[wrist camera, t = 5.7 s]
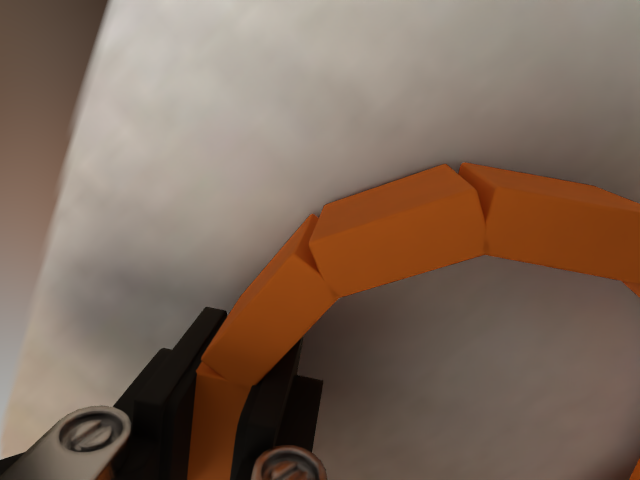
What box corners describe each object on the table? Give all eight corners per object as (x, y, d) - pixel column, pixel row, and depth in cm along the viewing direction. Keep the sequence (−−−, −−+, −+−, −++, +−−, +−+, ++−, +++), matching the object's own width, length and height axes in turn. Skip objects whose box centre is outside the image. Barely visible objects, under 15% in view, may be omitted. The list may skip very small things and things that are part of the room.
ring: (813, 224, 10) (993, 276, 7) (606, 612, 14) (669, 747, 11) (257, 124, 10) (215, 134, 8) (209, 524, 14) (169, 630, 11)
